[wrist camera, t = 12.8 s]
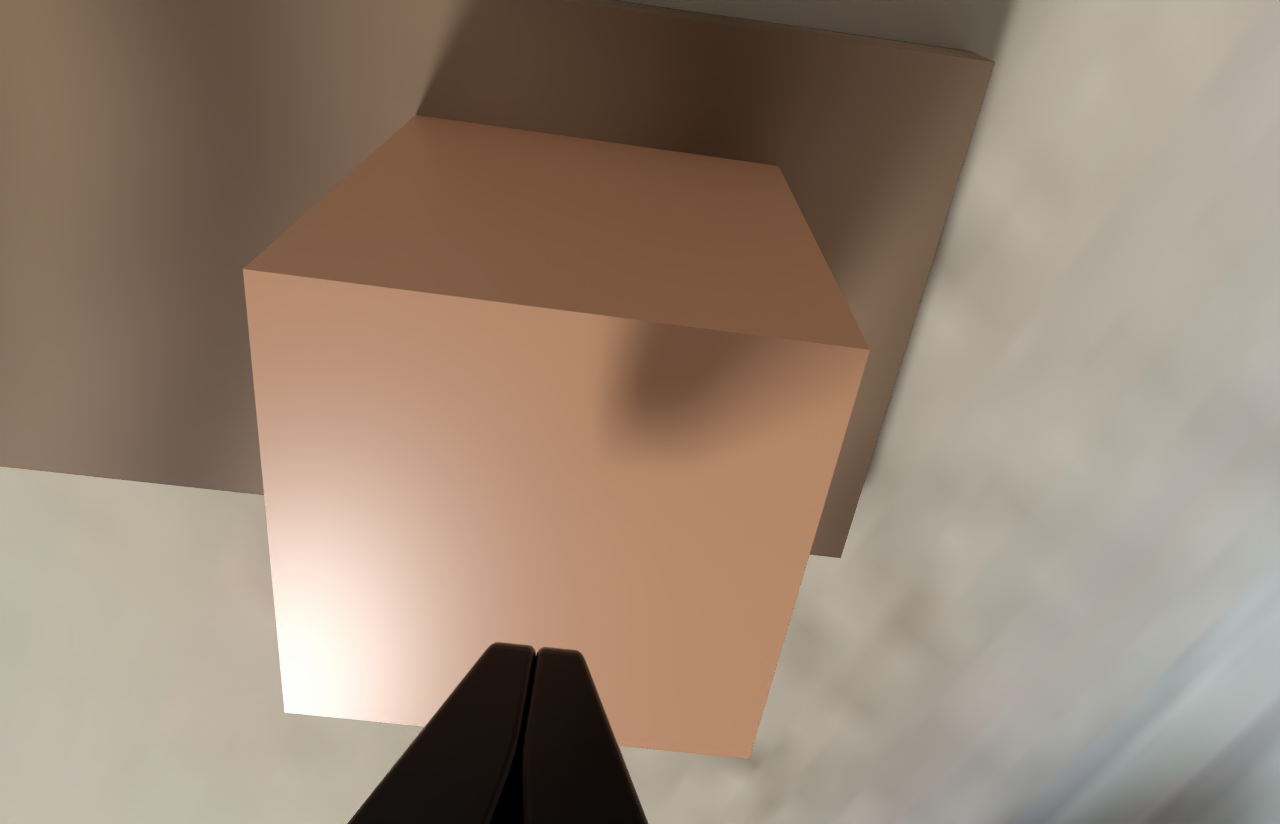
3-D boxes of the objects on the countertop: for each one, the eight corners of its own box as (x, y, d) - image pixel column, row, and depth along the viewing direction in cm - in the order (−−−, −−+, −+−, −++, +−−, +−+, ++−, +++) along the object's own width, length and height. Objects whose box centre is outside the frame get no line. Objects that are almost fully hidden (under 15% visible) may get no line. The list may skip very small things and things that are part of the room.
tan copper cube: (413, 428, 17) (284, 712, 11) (415, 115, 14) (242, 269, 8) (714, 464, 18) (749, 759, 12) (778, 166, 15) (871, 350, 9)
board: (-392, 388, 18) (-455, 417, 17) (-690, -187, 13) (-802, -194, 12) (830, 523, 20) (840, 557, 19) (970, 51, 15) (994, 62, 14)
